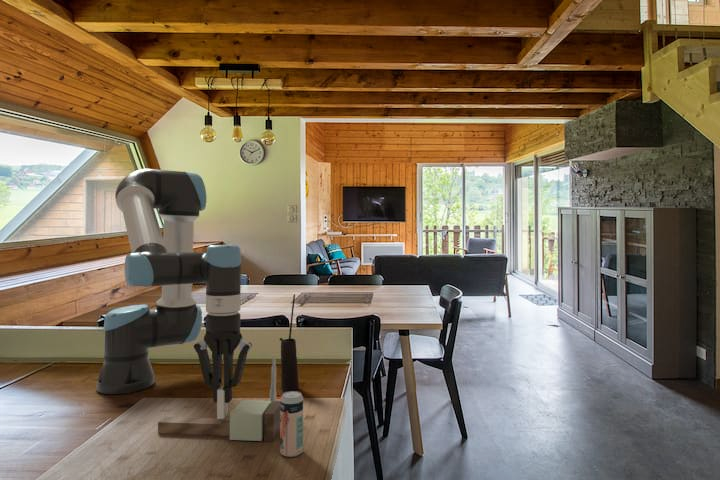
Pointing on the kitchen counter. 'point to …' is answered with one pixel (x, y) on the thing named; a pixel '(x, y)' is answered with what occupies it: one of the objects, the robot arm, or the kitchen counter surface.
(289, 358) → the butter churn
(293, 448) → the beer can
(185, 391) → the kitchen counter surface
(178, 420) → the rail
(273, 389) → the tow hook
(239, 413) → the slider
